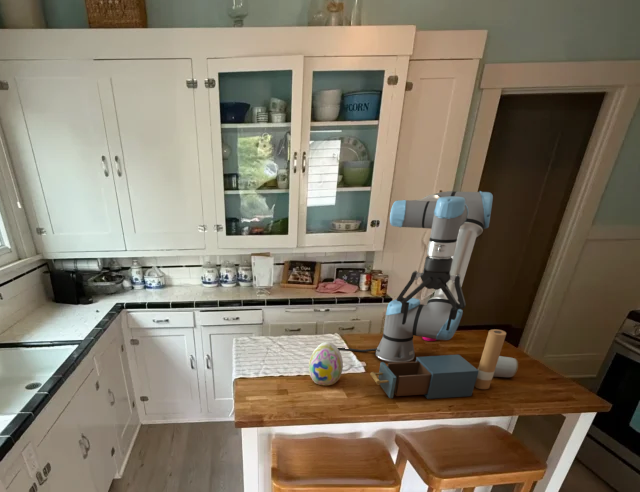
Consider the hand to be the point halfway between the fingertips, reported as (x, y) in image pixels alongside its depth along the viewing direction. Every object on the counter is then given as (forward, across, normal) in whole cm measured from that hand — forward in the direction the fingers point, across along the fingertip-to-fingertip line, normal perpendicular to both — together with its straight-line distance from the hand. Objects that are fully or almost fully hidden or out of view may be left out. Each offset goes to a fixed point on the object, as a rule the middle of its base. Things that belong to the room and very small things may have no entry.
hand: (425, 326), depth 137 cm
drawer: (+23, -5, -3) cm, 23 cm away
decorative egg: (+24, -30, -6) cm, 39 cm away
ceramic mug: (+24, +26, +26) cm, 44 cm away
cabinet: (+23, +9, +6) cm, 26 cm away
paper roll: (+23, +21, +14) cm, 35 cm away
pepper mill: (+24, -2, +53) cm, 58 cm away
